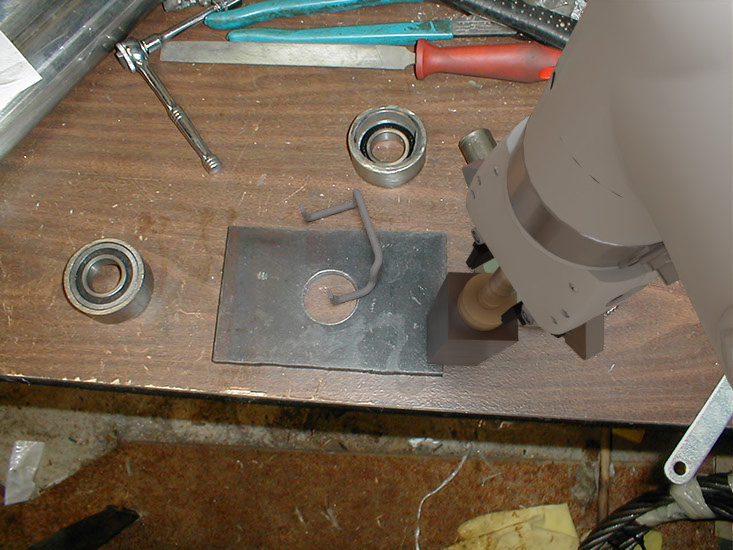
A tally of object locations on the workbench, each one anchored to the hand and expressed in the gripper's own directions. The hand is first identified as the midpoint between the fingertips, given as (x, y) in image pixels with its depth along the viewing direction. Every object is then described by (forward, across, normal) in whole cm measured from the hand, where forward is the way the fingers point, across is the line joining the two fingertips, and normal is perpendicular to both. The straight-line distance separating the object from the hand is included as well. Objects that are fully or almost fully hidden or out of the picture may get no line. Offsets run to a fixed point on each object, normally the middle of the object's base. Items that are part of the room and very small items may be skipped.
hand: (502, 283), depth 41 cm
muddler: (+8, 0, 0) cm, 8 cm away
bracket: (+28, +16, +7) cm, 33 cm away
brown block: (+28, 0, 0) cm, 28 cm away
